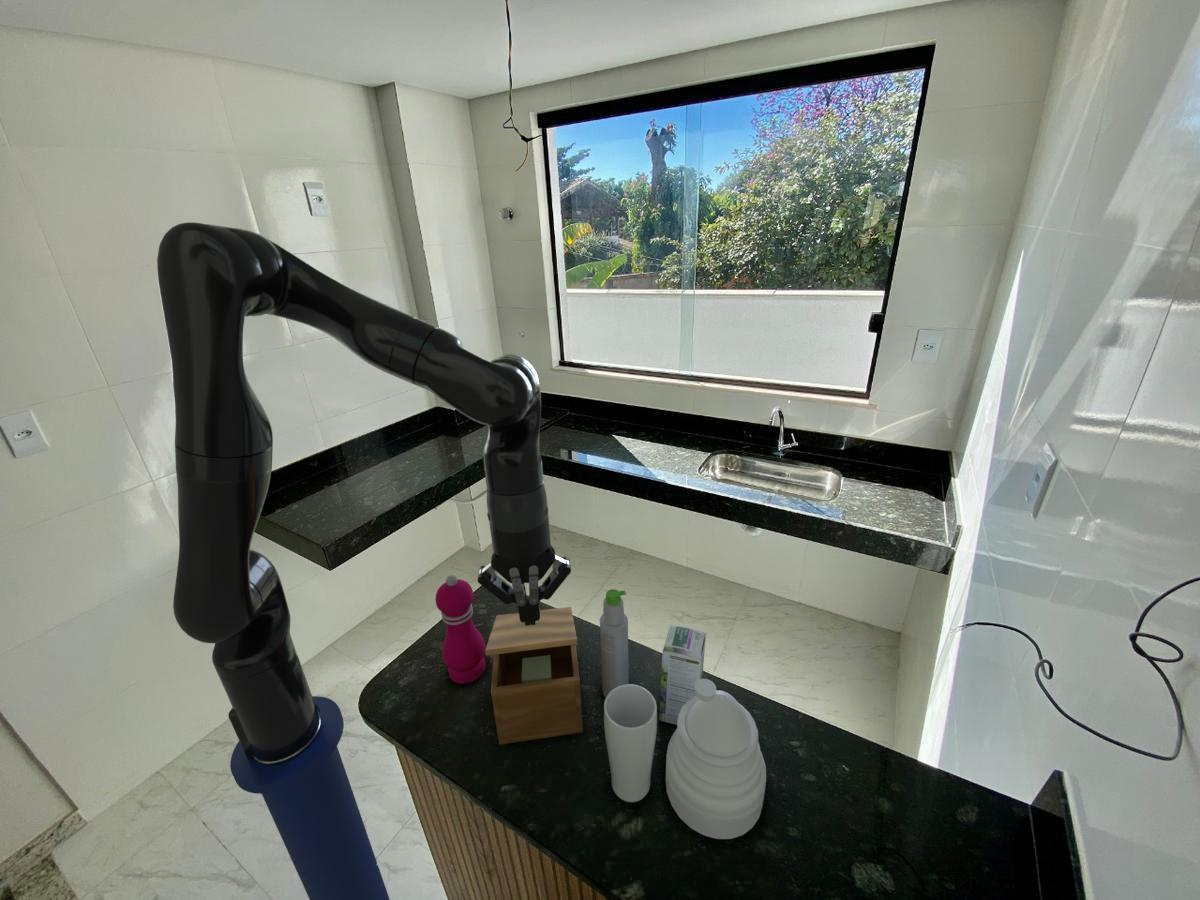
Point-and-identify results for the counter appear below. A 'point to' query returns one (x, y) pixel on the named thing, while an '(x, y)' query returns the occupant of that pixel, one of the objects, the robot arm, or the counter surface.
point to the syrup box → (680, 670)
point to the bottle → (614, 642)
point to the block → (536, 669)
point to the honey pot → (715, 765)
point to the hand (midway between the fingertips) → (530, 621)
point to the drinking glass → (630, 739)
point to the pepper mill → (460, 631)
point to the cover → (532, 632)
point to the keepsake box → (536, 696)
